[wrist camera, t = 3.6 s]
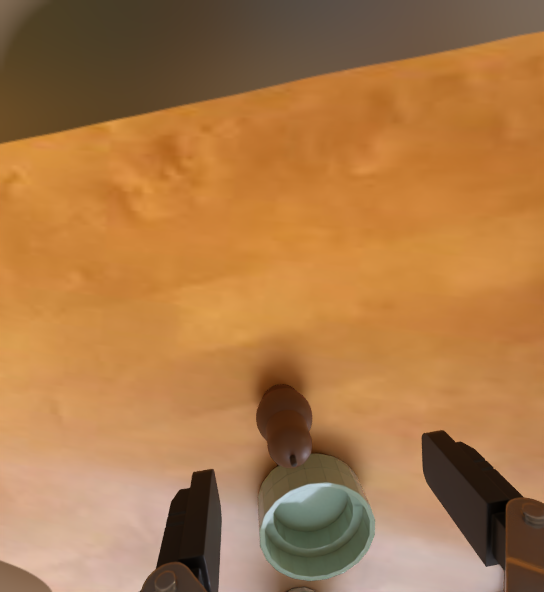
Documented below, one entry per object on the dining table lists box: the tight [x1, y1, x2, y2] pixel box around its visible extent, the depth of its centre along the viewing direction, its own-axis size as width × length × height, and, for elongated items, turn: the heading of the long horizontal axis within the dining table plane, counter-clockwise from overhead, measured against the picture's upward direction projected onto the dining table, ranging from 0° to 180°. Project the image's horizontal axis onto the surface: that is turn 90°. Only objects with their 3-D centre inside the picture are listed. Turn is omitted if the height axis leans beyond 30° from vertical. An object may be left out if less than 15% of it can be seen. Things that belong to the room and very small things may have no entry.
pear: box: [256, 384, 312, 468], centre depth 37 cm, size 6×6×11 cm
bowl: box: [258, 453, 375, 581], centre depth 43 cm, size 13×13×6 cm
